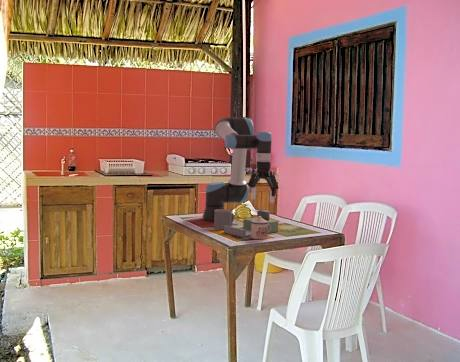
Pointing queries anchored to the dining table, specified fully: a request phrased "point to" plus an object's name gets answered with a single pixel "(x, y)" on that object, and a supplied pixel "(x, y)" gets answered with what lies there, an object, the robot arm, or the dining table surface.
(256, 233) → the teacup with lid
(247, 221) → the grey green blocky piece
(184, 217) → the dining table surface
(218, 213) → the coffee mug
